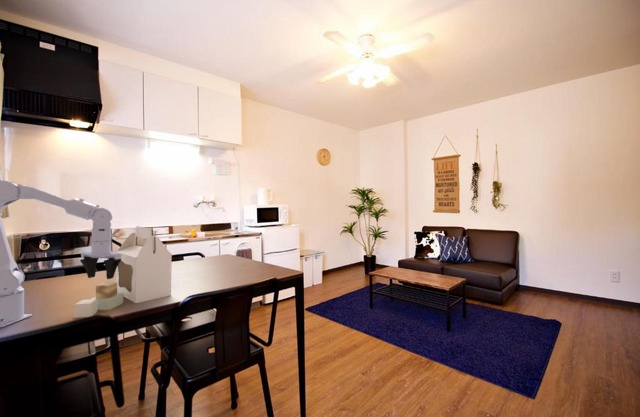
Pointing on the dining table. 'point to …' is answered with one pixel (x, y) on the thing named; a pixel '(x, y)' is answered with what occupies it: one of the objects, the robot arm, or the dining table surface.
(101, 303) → the sage block
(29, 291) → the dining table surface
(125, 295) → the gable box
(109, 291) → the oak cube
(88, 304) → the cream cube
